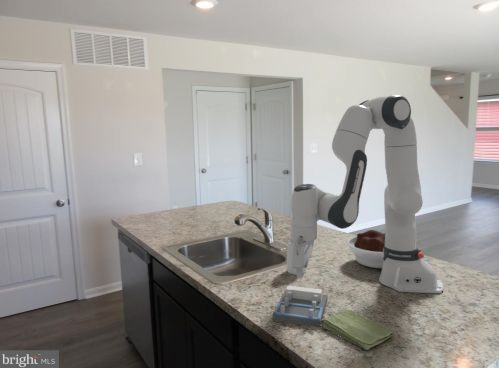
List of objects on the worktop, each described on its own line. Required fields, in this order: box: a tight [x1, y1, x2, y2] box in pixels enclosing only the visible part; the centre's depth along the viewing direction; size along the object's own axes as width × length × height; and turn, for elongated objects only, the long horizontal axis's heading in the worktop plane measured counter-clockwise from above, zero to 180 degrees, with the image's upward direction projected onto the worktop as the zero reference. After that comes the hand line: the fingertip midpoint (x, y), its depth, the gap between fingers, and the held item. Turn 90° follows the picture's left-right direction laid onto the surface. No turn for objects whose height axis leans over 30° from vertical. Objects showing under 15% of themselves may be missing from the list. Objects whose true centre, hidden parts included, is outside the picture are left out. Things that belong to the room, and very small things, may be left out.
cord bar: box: [285, 285, 323, 302], centre depth 127 cm, size 12×3×3 cm, turn 72°
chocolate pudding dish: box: [346, 229, 385, 269], centre depth 162 cm, size 25×25×15 cm
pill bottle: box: [286, 237, 307, 276], centre depth 155 cm, size 8×8×15 cm
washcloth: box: [321, 309, 395, 351], centre depth 109 cm, size 13×18×3 cm
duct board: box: [272, 284, 328, 328], centre depth 123 cm, size 15×18×4 cm
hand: (302, 271), depth 126 cm, fingers open, 8 cm apart
